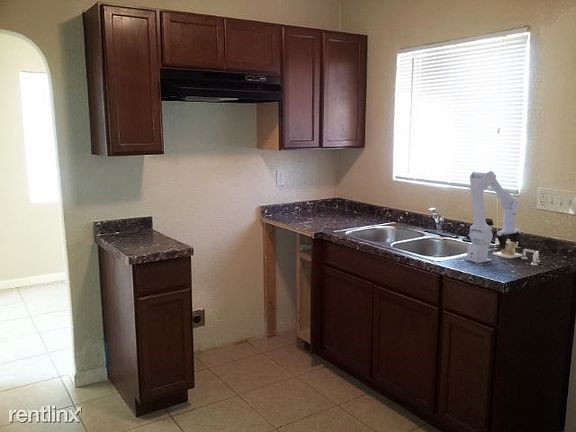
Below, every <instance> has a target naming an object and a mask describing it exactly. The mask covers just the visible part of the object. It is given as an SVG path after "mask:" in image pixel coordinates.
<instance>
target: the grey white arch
mask: <svg viewBox="0 0 576 432" xmlns="http://www.w3.org/2000/svg"><path fill="white" fill-rule="evenodd" d="M527 253H532V254H533V256H532V262H530V266H538V263H541V260H539V256H540V255H539V250H533V249H527V248H523V250H522V254H523V255H522V256H520V259H521V260H528V257H527V256H526V254H527Z"/></svg>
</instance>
